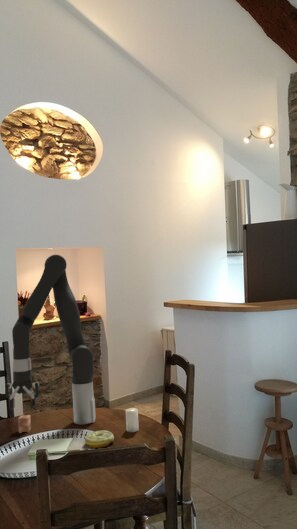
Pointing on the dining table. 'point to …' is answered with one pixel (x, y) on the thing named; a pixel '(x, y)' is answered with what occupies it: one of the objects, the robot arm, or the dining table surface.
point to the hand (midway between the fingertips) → (23, 407)
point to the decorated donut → (99, 439)
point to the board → (51, 445)
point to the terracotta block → (24, 423)
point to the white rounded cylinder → (132, 420)
